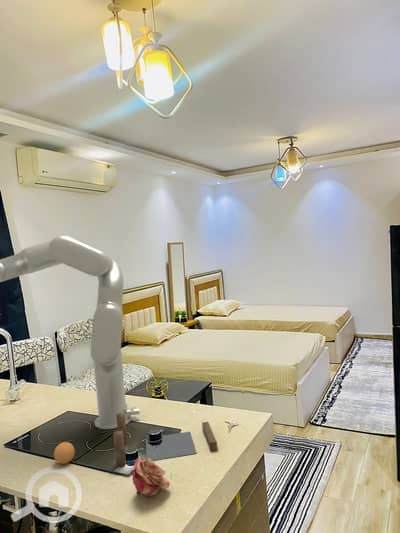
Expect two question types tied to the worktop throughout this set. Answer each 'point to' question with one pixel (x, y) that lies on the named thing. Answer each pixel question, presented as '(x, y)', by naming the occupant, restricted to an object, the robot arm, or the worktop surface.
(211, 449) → the brown wooden bar
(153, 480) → the flower
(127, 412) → the robot arm
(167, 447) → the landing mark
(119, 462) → the near post
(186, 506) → the worktop surface
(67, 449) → the ball
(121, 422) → the far post
